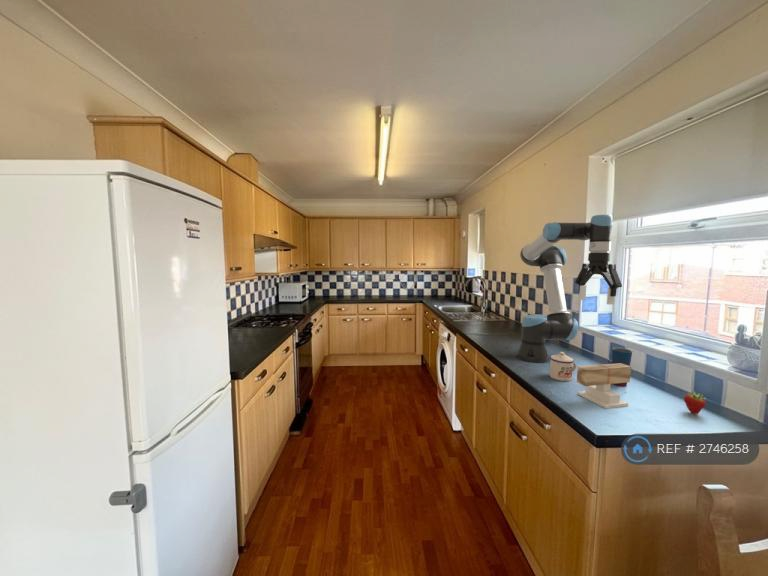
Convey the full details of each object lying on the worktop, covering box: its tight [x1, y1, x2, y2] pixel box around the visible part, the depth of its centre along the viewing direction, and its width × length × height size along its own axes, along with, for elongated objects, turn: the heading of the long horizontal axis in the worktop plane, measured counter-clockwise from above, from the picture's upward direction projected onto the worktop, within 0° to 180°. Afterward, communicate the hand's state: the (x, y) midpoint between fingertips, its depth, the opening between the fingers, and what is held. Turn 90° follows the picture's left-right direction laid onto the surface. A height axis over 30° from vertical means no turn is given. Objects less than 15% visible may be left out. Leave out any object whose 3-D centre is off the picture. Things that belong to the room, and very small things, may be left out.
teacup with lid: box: [549, 351, 577, 382], centre depth 139 cm, size 12×9×12 cm
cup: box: [611, 347, 633, 388], centre depth 132 cm, size 7×7×15 cm
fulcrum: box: [577, 384, 629, 409], centre depth 117 cm, size 12×10×7 cm
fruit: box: [683, 390, 707, 415], centre depth 107 cm, size 5×5×8 cm
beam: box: [576, 363, 632, 387], centre depth 116 cm, size 4×20×6 cm, turn 103°
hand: (595, 302), depth 133 cm, fingers open, 13 cm apart
